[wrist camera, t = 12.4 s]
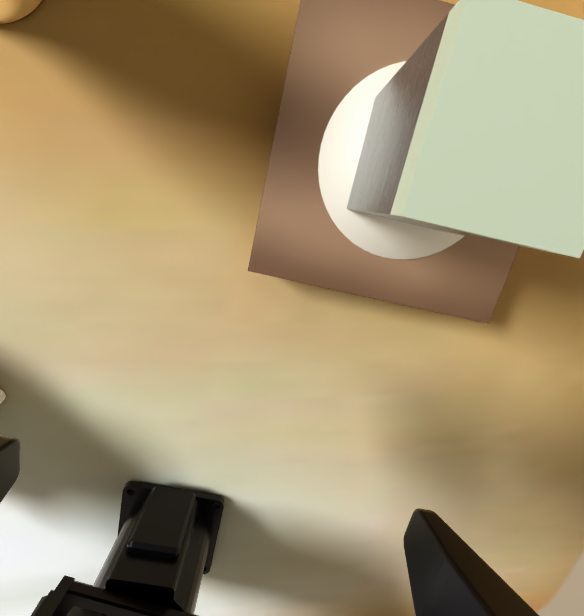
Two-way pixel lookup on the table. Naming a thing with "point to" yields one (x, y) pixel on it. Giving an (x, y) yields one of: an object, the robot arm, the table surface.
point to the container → (2, 396)
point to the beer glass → (16, 9)
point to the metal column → (484, 130)
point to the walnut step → (343, 164)
